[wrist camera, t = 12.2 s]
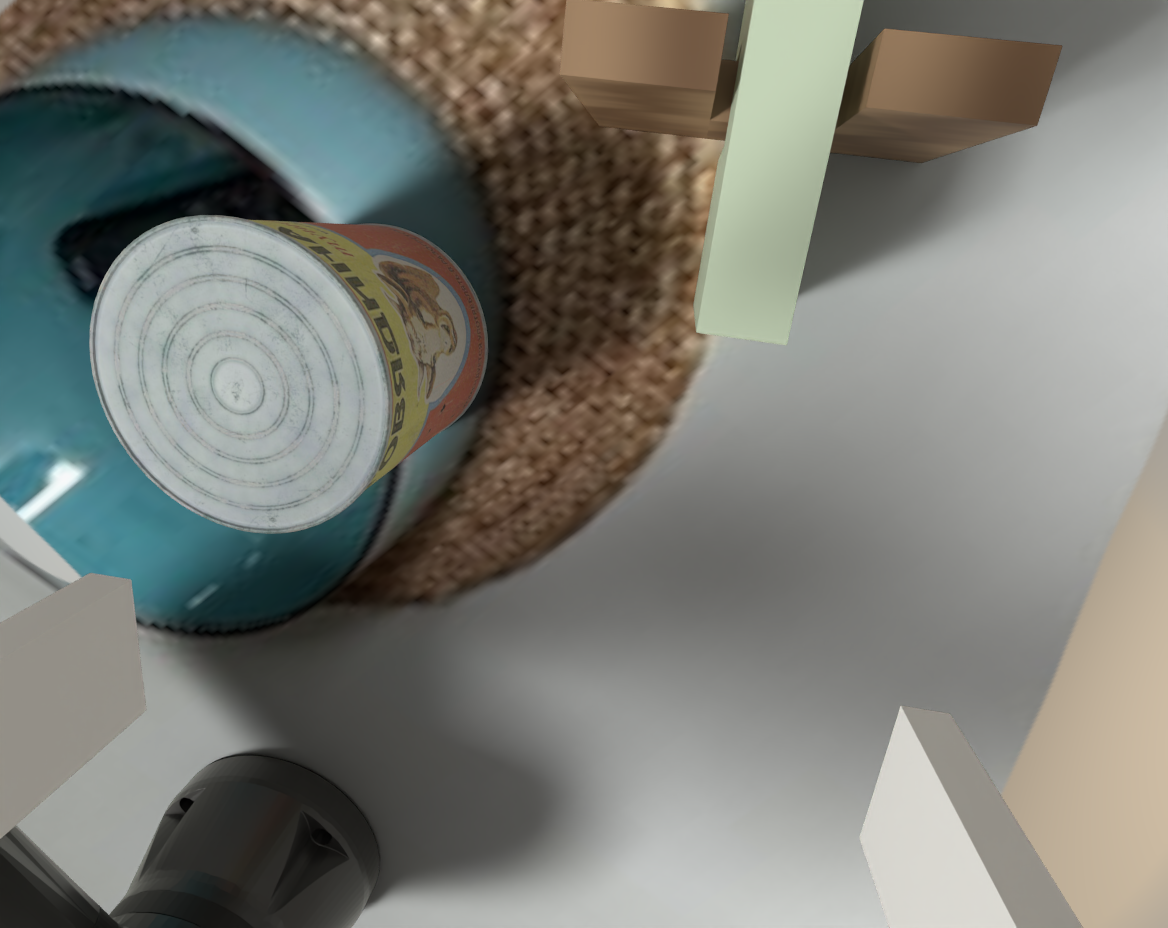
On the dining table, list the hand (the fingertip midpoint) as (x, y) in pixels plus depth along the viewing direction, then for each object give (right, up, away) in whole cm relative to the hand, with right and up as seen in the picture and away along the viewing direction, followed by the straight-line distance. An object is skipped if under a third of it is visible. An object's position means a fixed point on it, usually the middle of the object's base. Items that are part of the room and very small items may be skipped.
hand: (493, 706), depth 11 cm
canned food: (-9, +11, +23) cm, 27 cm away
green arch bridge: (+9, +19, +17) cm, 27 cm away
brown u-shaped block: (+9, +19, +17) cm, 27 cm away
